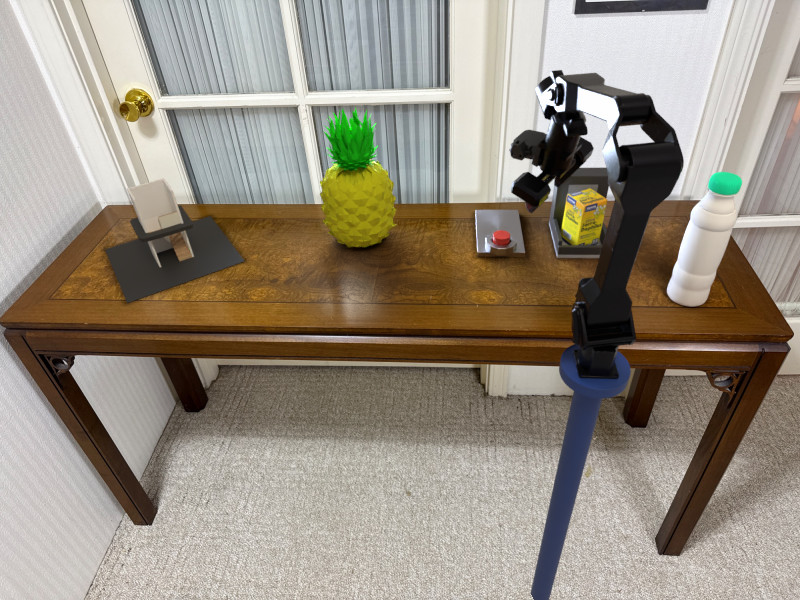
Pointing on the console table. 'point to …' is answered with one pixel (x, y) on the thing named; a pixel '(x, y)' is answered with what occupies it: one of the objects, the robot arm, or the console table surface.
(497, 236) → the button
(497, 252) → the button block
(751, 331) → the console table surface
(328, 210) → the pineapple
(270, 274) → the console table surface
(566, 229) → the supplement box
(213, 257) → the beige and grey stand
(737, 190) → the water bottle
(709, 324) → the console table surface
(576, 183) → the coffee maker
